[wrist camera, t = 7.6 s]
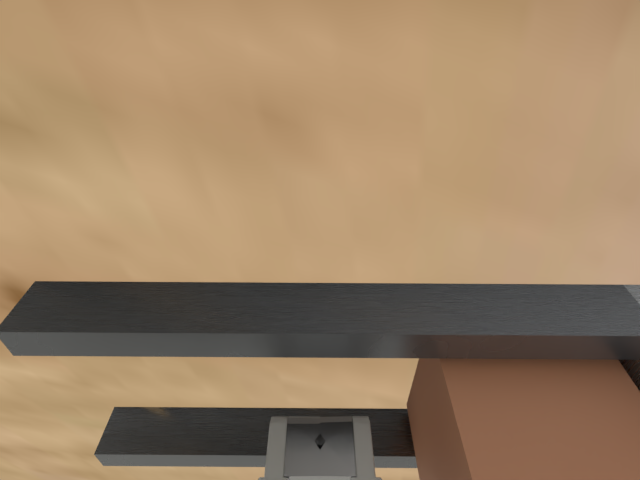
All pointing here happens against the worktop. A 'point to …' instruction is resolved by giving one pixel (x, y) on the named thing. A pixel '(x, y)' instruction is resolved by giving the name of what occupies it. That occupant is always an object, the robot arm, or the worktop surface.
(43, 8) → the worktop surface
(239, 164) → the worktop surface
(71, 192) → the worktop surface
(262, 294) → the rail
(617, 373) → the block
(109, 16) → the worktop surface
